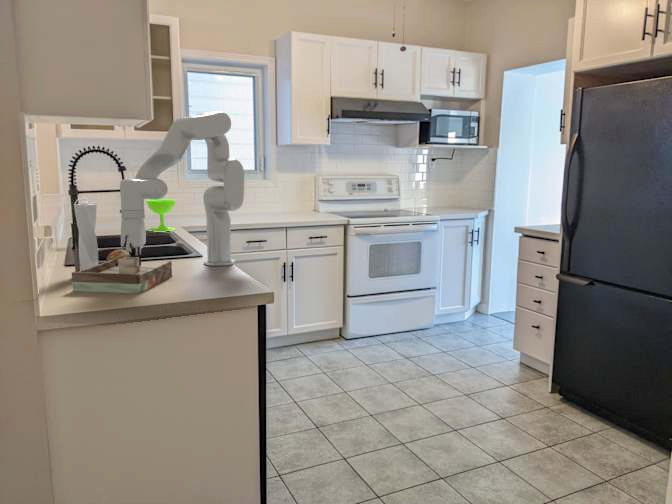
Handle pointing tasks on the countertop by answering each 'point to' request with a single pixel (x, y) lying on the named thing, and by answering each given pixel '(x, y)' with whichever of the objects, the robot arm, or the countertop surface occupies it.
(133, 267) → the birch block
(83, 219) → the skyscraper
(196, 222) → the countertop surface
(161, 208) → the wineglass
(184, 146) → the robot arm
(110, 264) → the trap box
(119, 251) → the bread roll
